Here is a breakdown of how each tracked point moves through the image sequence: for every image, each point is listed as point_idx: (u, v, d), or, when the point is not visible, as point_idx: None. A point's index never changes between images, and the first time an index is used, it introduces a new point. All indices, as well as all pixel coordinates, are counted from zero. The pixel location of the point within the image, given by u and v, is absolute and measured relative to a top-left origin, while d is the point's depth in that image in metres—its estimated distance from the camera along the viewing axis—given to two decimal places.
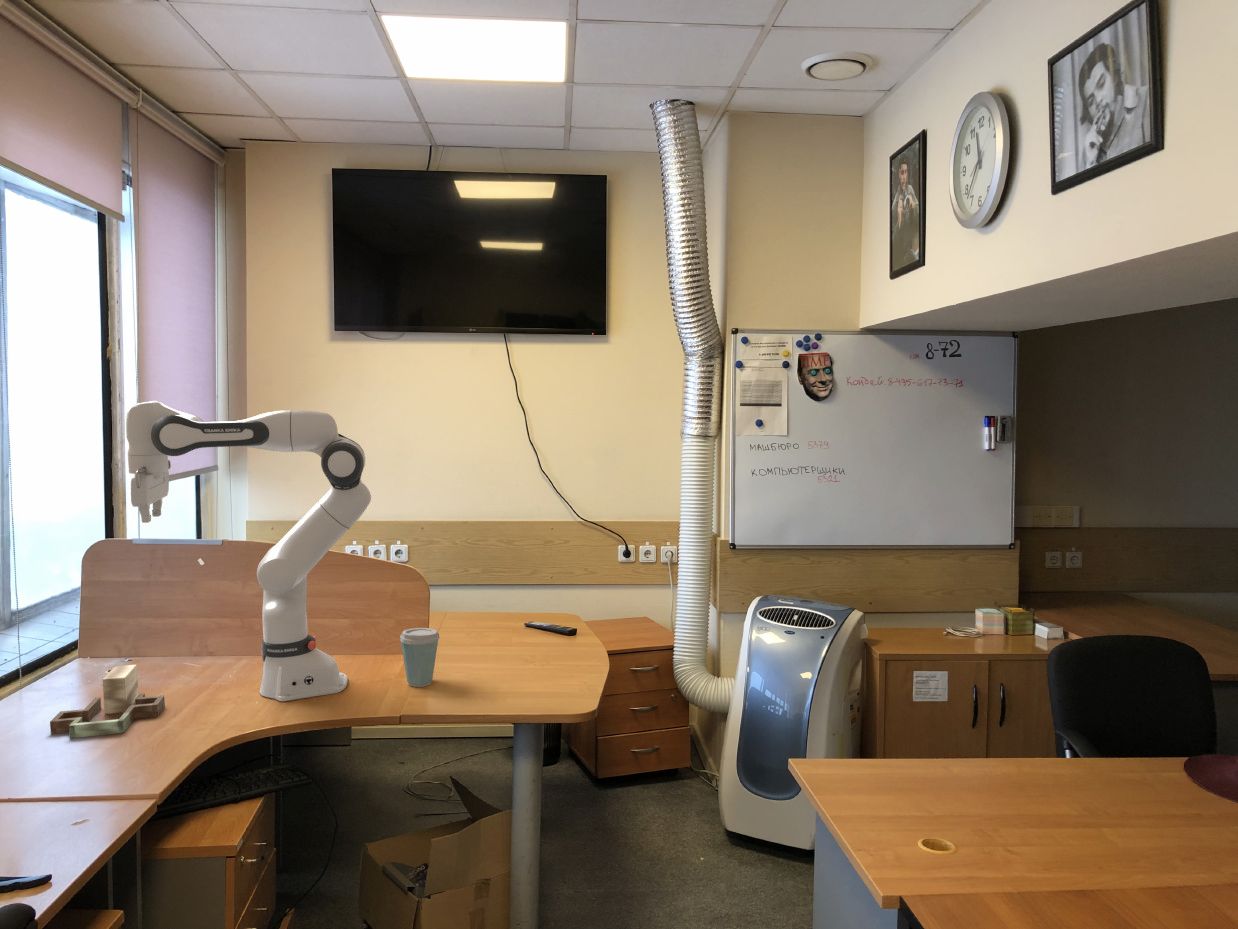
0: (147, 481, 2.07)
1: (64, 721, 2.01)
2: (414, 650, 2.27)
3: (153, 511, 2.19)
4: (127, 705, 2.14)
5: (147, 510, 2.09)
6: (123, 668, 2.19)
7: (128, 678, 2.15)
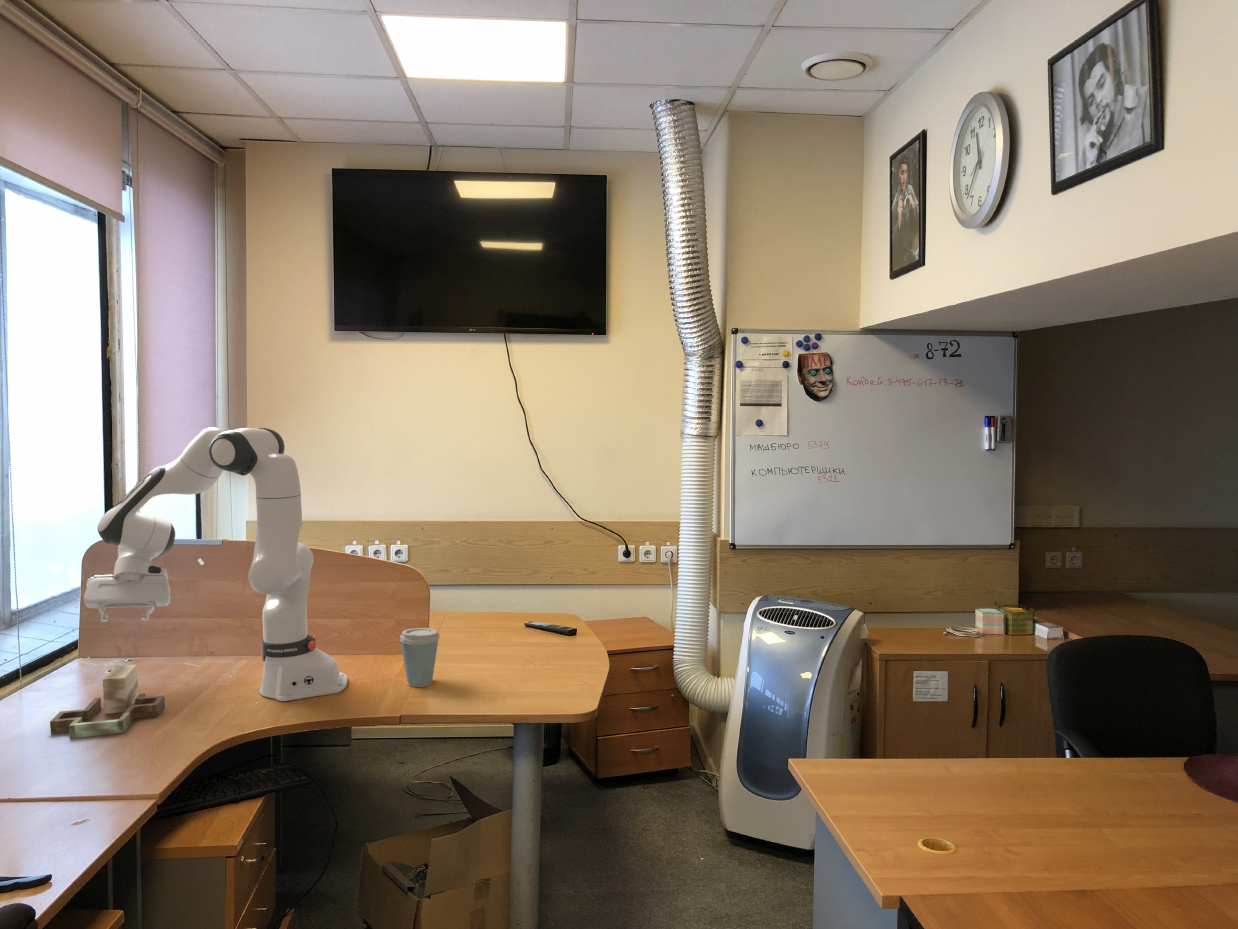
0: (93, 582, 2.25)
1: (64, 721, 2.01)
2: (414, 650, 2.27)
3: None
4: (127, 705, 2.14)
5: (98, 608, 2.22)
6: (123, 668, 2.19)
7: (128, 678, 2.15)
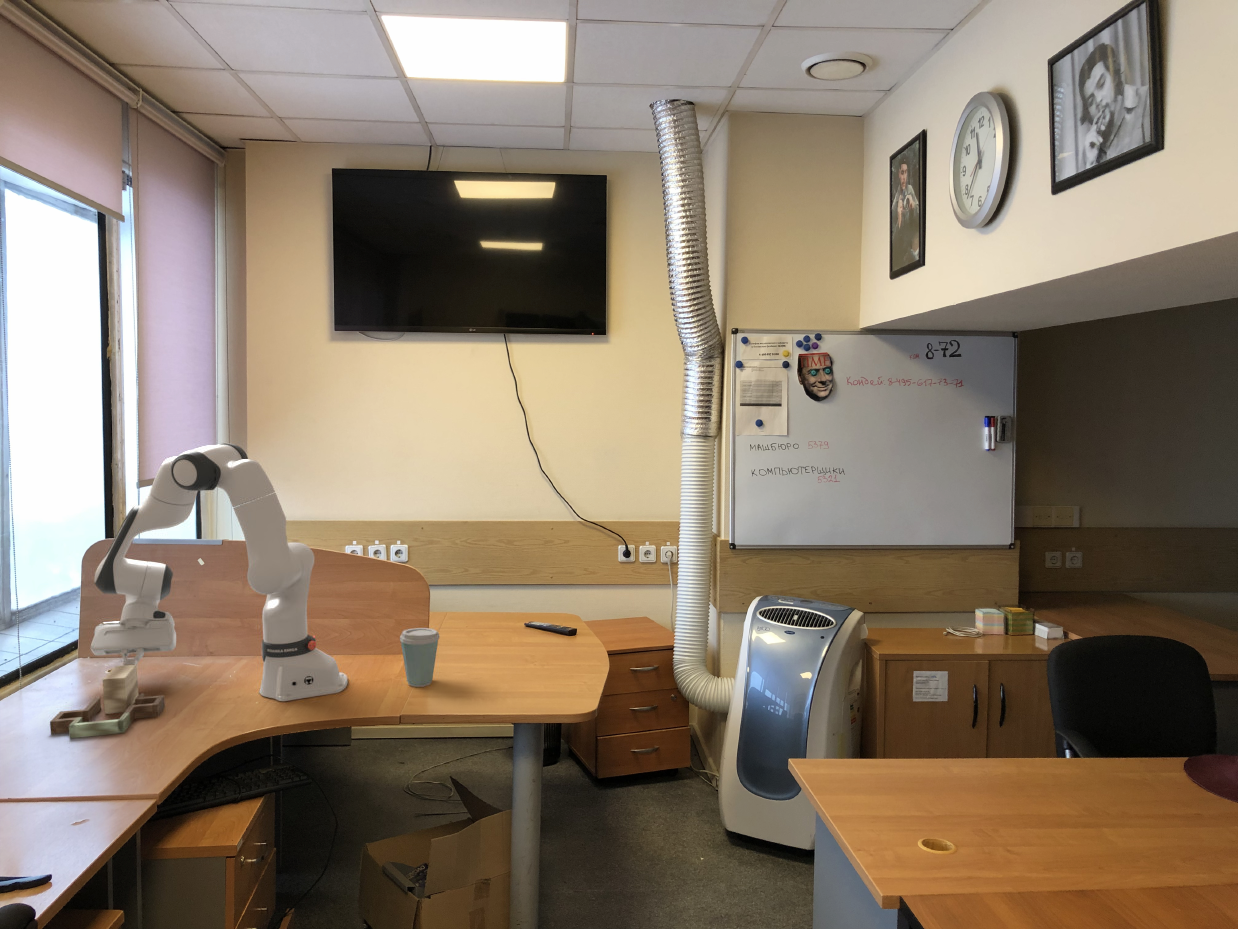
0: (100, 629, 2.29)
1: (64, 721, 2.01)
2: (414, 650, 2.27)
3: None
4: (127, 705, 2.14)
5: (121, 654, 2.26)
6: (123, 668, 2.19)
7: (128, 678, 2.15)
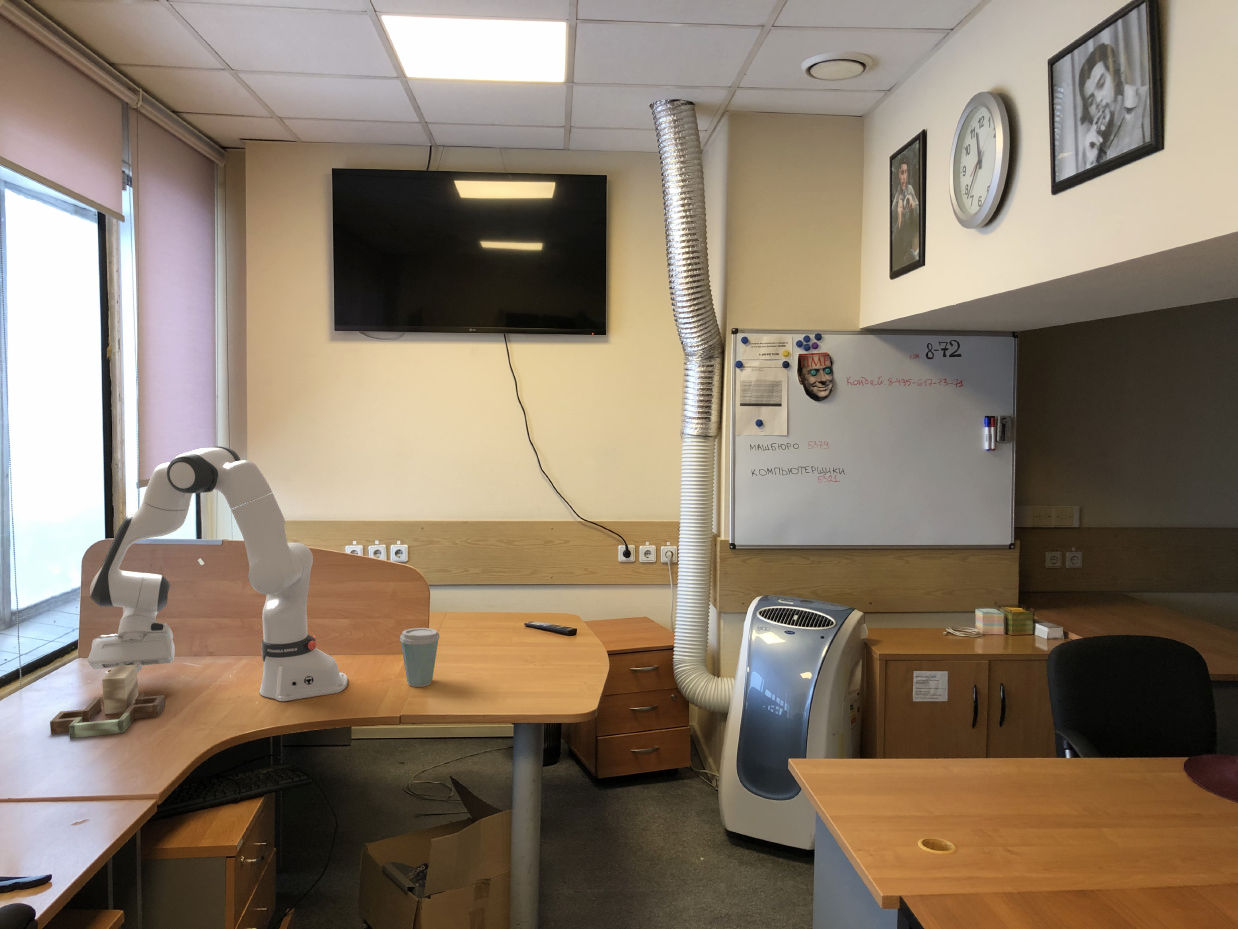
0: (97, 642, 2.25)
1: (64, 721, 2.01)
2: (414, 650, 2.27)
3: None
4: (127, 705, 2.14)
5: None
6: (123, 668, 2.19)
7: (128, 678, 2.15)
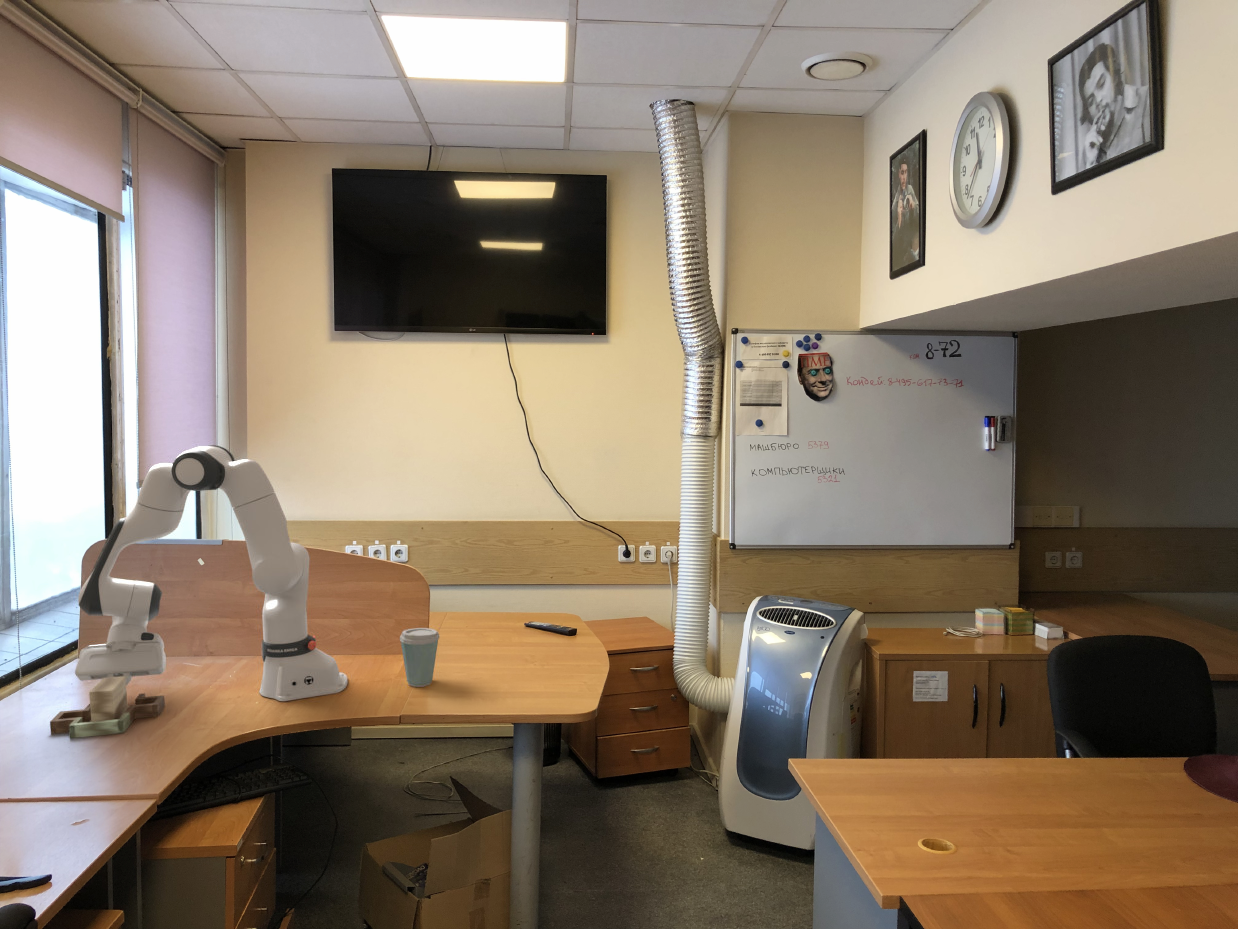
0: (85, 653, 2.17)
1: (64, 721, 2.01)
2: (414, 650, 2.27)
3: None
4: (115, 718, 2.05)
5: None
6: (111, 679, 2.10)
7: (116, 691, 2.06)
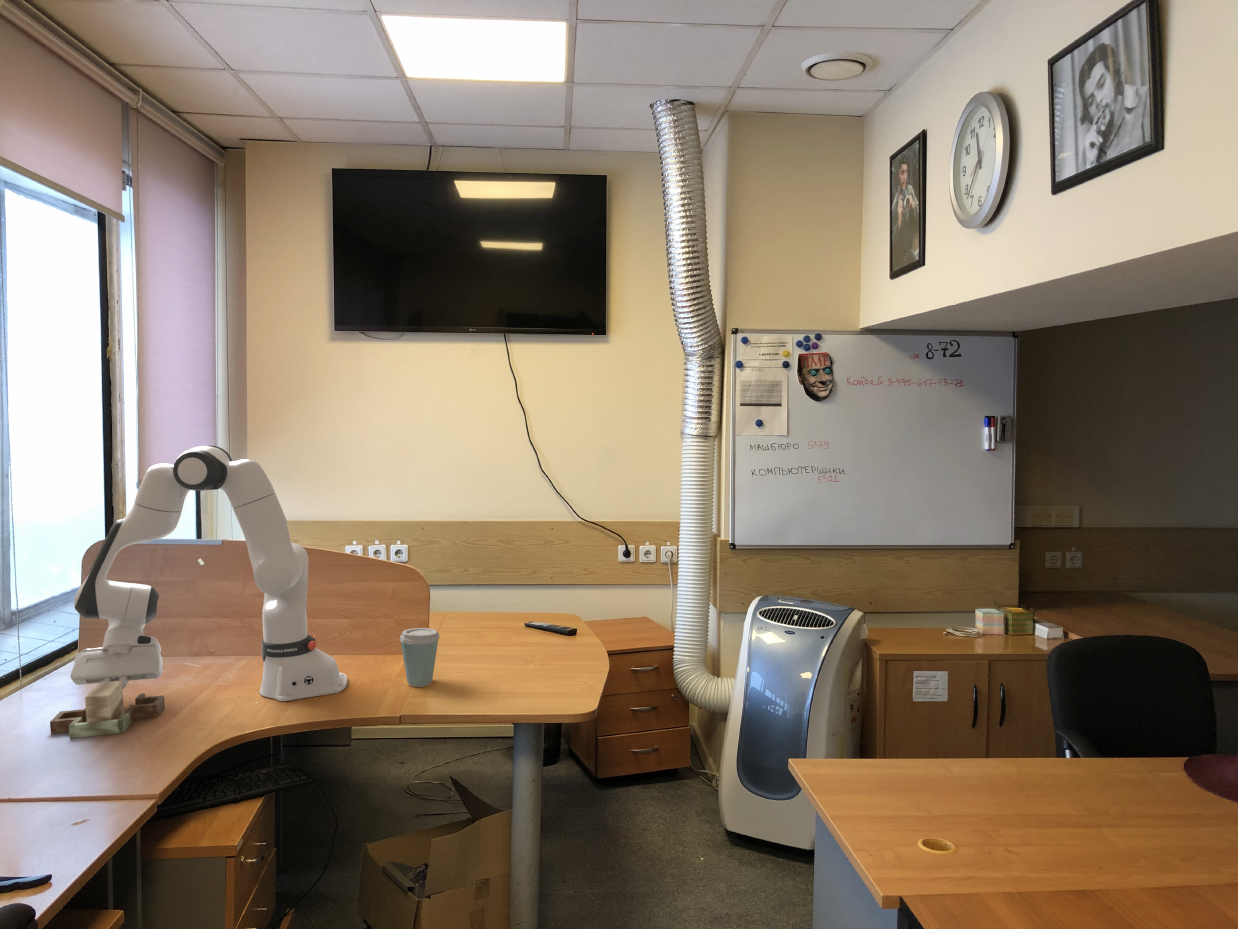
0: (81, 657, 2.14)
1: (64, 721, 2.01)
2: (414, 650, 2.27)
3: None
4: None
5: None
6: (107, 684, 2.08)
7: (112, 695, 2.03)
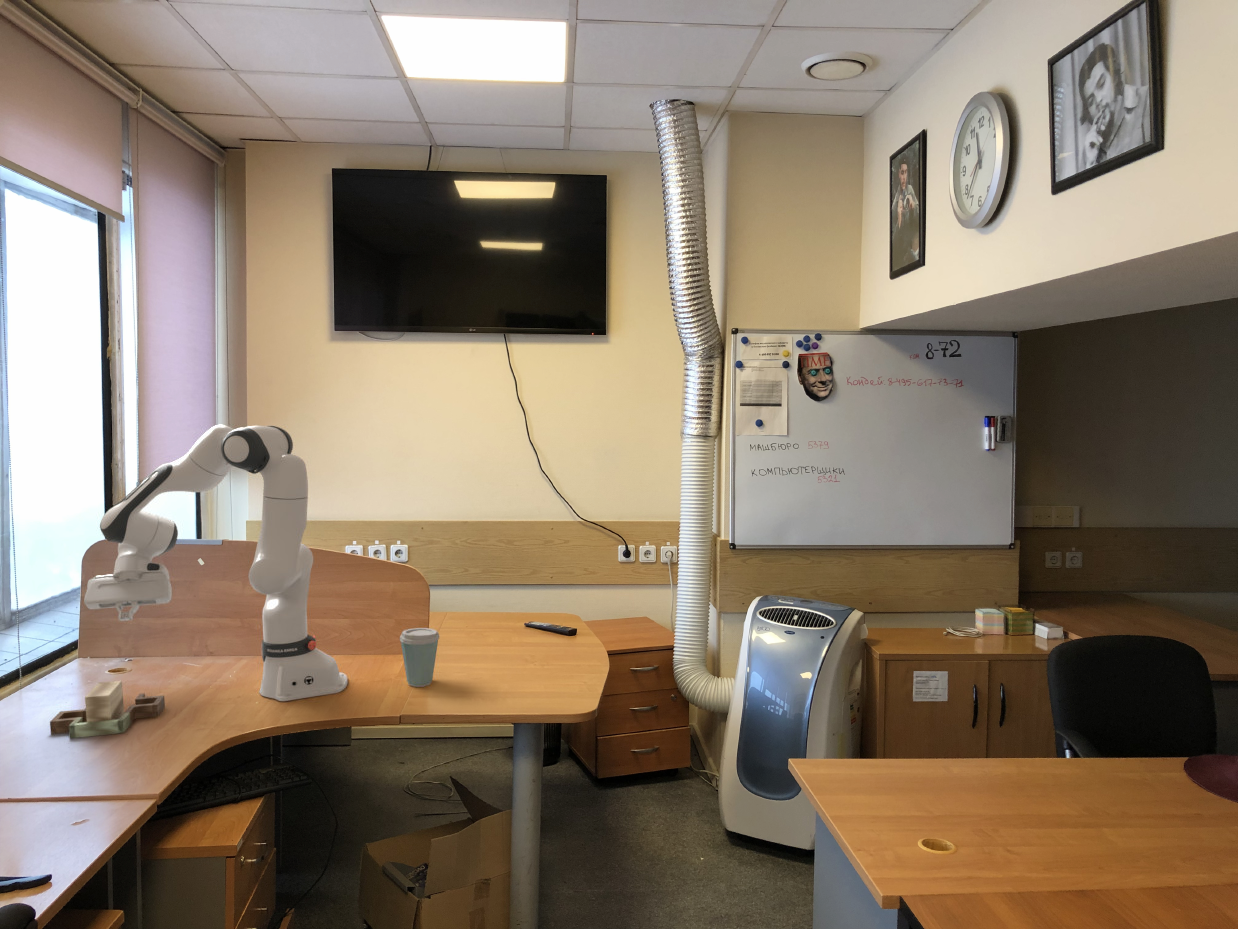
0: (93, 583, 2.23)
1: (64, 721, 2.01)
2: (414, 650, 2.27)
3: None
4: None
5: (116, 607, 2.21)
6: (107, 684, 2.08)
7: (112, 695, 2.03)
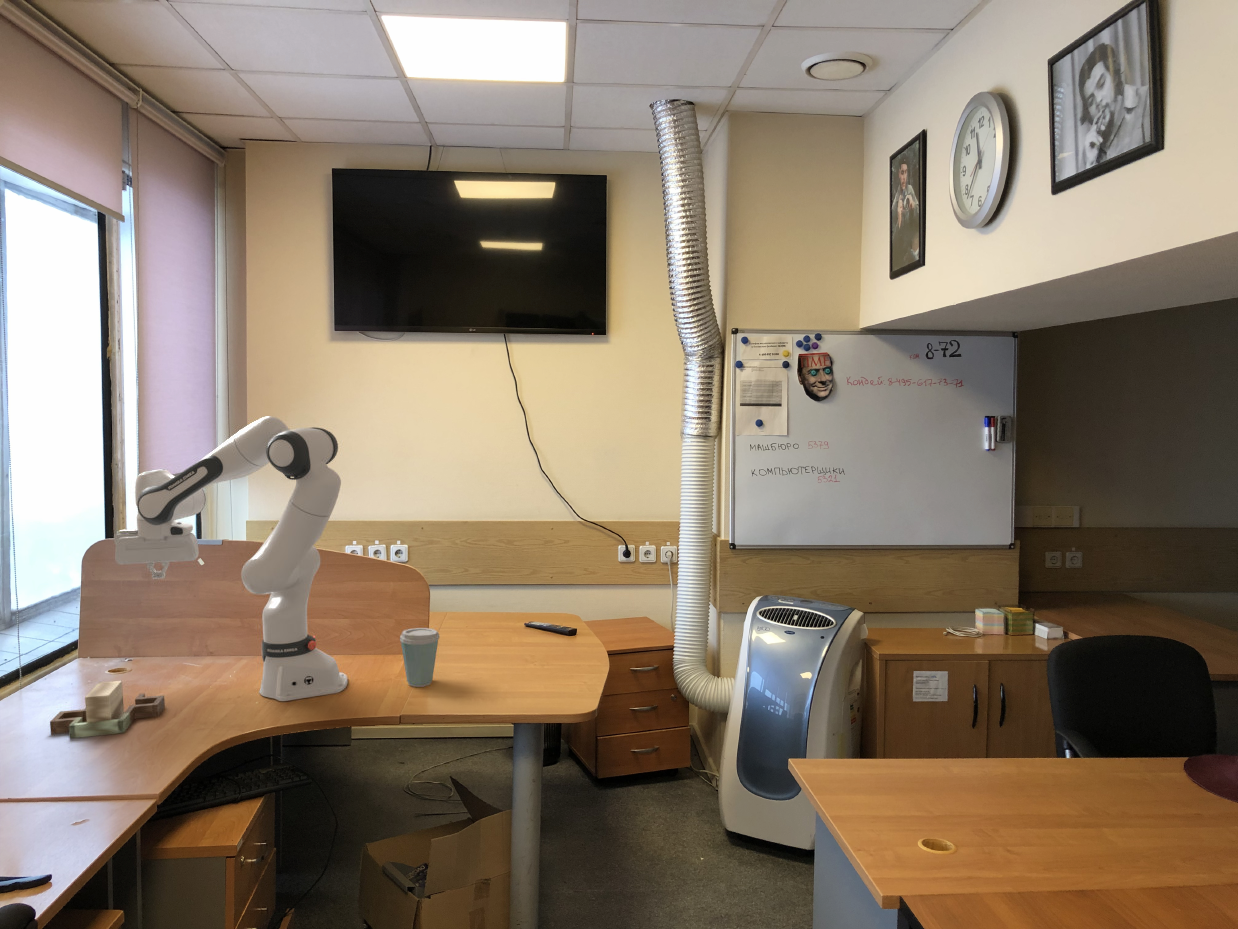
0: (120, 542, 2.27)
1: (64, 721, 2.01)
2: (414, 650, 2.27)
3: None
4: None
5: (148, 567, 2.31)
6: (107, 684, 2.08)
7: (112, 695, 2.03)
